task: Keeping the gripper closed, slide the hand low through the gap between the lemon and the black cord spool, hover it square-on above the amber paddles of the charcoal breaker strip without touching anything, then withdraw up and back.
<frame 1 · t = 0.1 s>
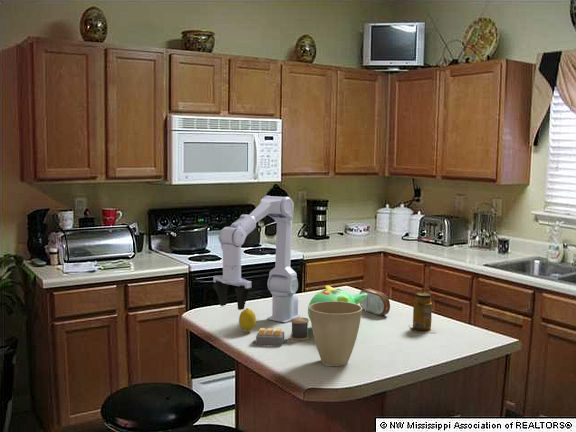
hand: (232, 307, 195), 10 cm above the counter, fingers open, 7 cm apart
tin: (373, 313, 228), on the counter
plant pot: (334, 362, 175), on the counter
condiment: (422, 330, 207), on the counter
breaker strip: (270, 343, 192), on the counter
lemon: (247, 332, 203), on the counter
cord spool: (299, 338, 197), on the counter
green toy teapot: (334, 331, 205), on the counter
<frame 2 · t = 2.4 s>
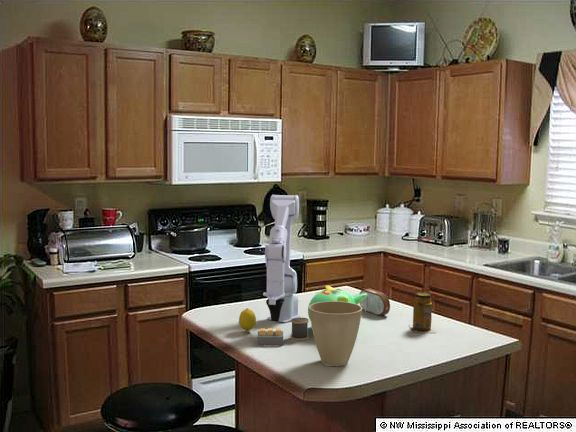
hand: (275, 321, 201), 4 cm above the counter, fingers closed
nothing on the counter moved.
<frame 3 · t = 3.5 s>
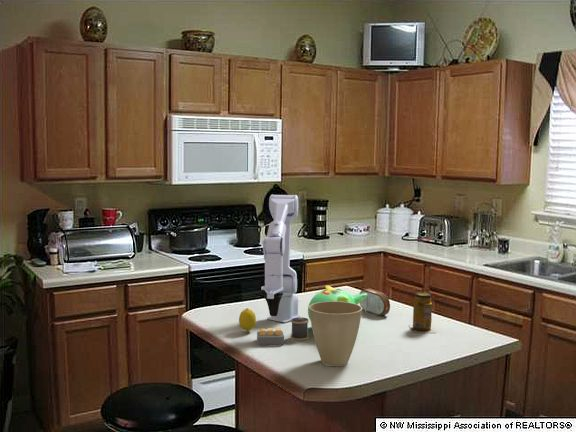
hand: (273, 315, 197), 7 cm above the counter, fingers closed
nothing on the counter moved.
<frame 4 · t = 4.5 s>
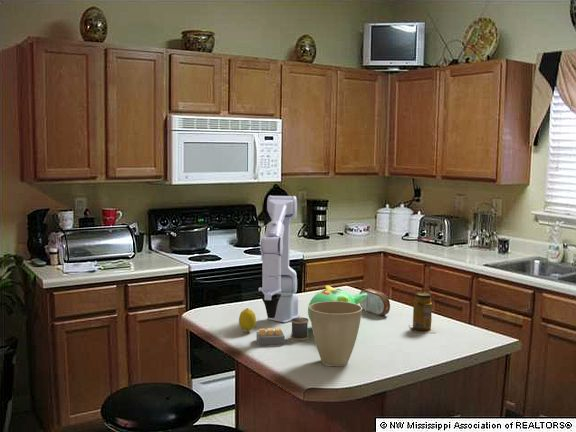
hand: (271, 317, 193), 7 cm above the counter, fingers closed
nothing on the counter moved.
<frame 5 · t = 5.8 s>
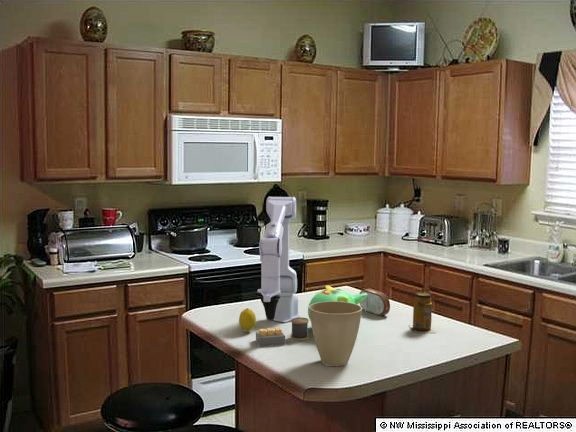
hand: (270, 319, 191), 7 cm above the counter, fingers closed
nothing on the counter moved.
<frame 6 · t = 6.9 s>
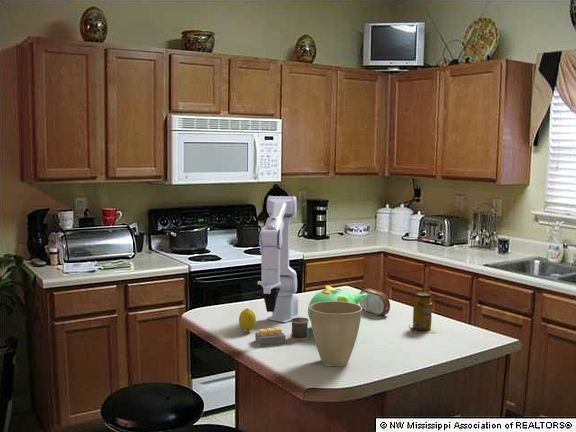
hand: (270, 311, 191), 10 cm above the counter, fingers closed
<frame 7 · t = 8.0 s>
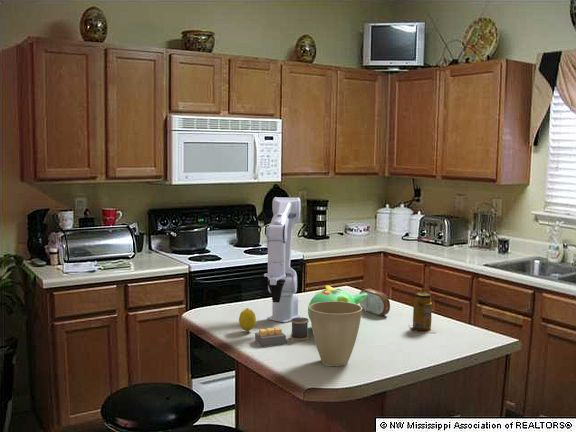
hand: (276, 301, 203), 10 cm above the counter, fingers closed
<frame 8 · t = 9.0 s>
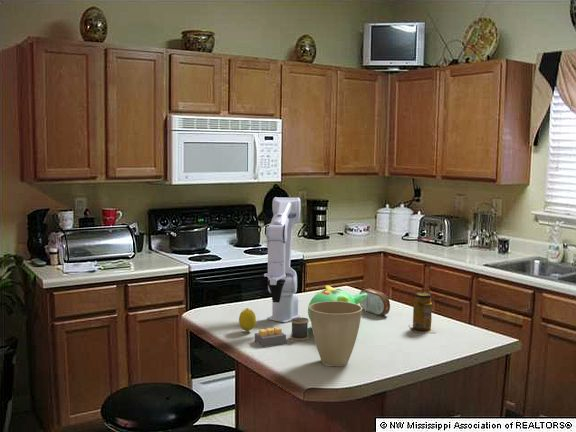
hand: (276, 301, 203), 10 cm above the counter, fingers closed
at the end: breaker strip moved 0.3 cm from its start; cord spool moved 0.1 cm from its start; lemon moved 0.2 cm from its start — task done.
